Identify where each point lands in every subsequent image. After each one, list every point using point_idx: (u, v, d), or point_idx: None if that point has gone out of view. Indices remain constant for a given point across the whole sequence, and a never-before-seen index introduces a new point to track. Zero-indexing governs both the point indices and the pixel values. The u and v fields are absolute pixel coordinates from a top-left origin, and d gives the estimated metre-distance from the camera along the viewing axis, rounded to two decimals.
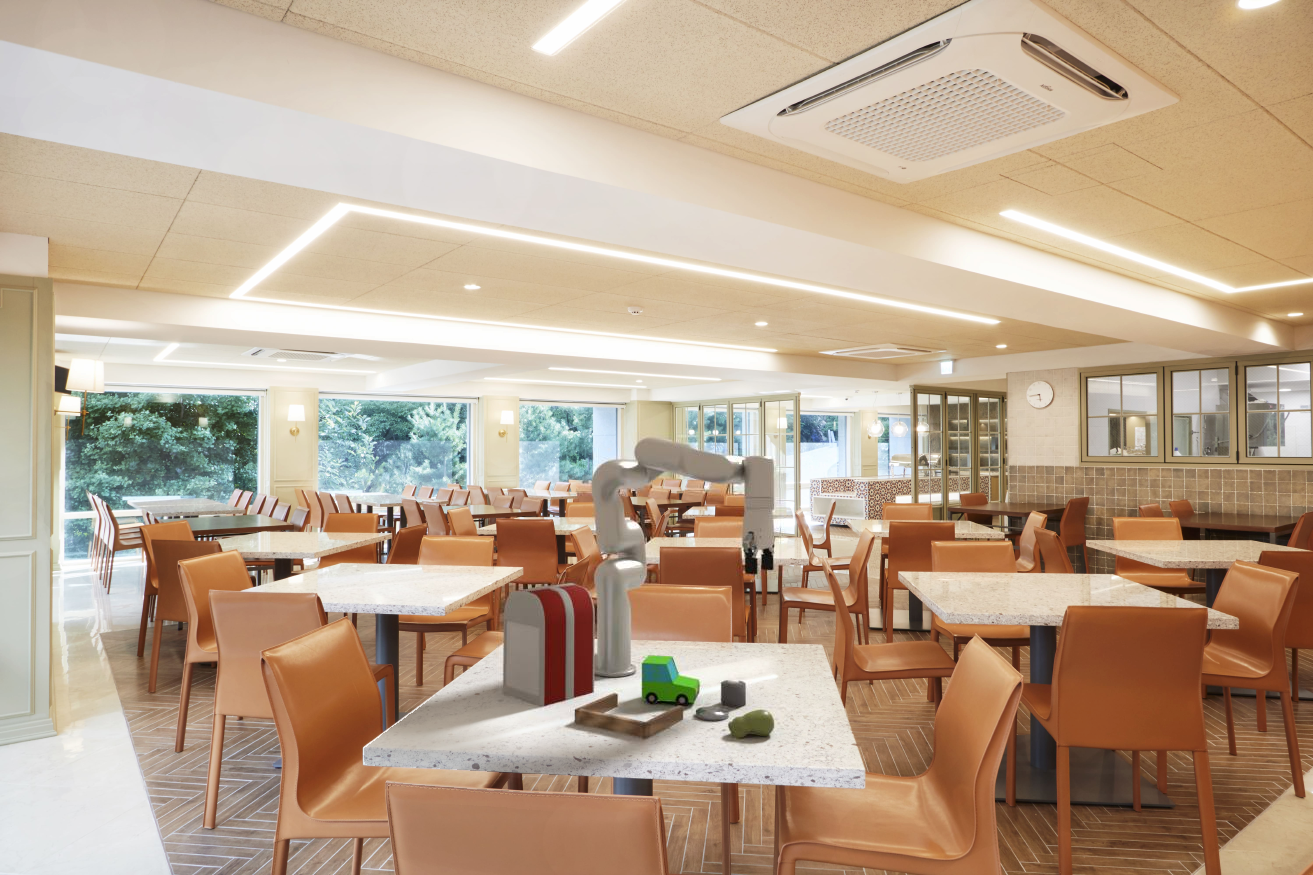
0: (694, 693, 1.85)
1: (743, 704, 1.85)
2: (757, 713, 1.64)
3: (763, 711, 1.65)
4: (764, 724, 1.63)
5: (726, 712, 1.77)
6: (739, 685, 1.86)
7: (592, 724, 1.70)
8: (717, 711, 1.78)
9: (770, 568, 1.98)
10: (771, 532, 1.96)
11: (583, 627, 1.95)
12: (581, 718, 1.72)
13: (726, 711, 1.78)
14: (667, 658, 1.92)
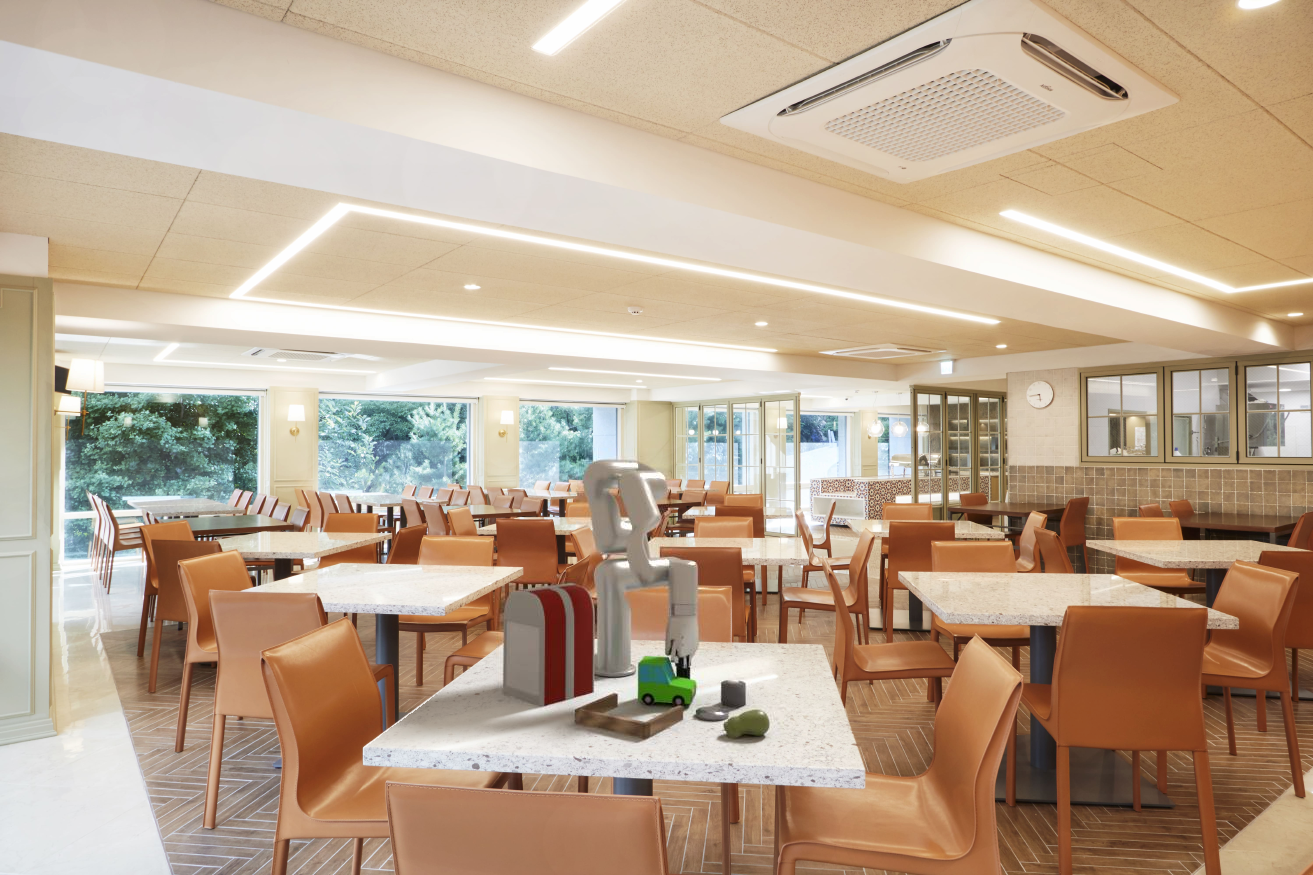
0: (691, 694, 1.84)
1: (743, 704, 1.85)
2: (752, 713, 1.64)
3: (758, 711, 1.65)
4: (760, 724, 1.63)
5: (726, 712, 1.77)
6: (739, 685, 1.86)
7: (592, 724, 1.70)
8: (717, 711, 1.78)
9: None
10: (695, 637, 1.96)
11: (583, 627, 1.95)
12: (581, 718, 1.72)
13: (726, 711, 1.78)
14: (663, 659, 1.91)
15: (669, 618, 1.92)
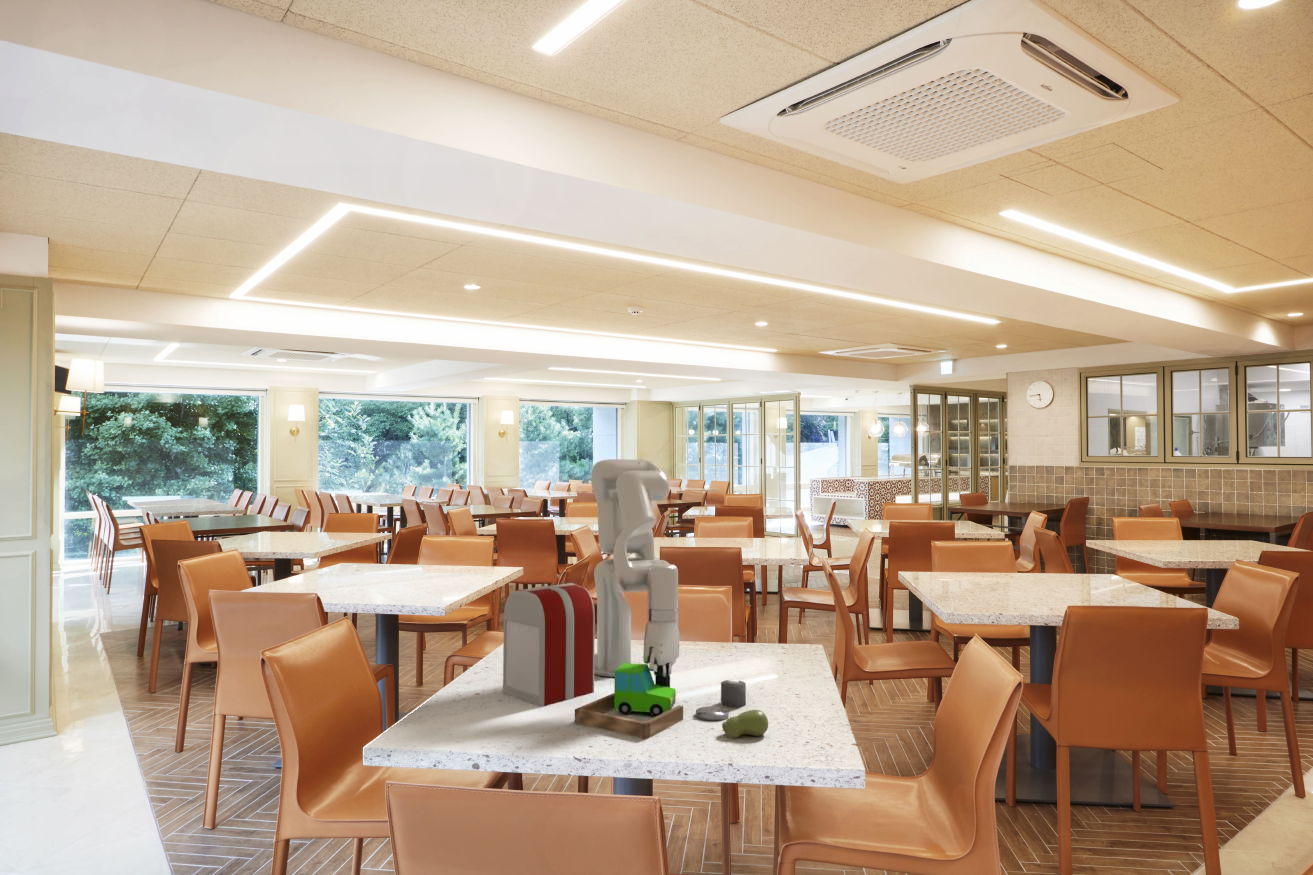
0: (669, 703, 1.77)
1: (743, 704, 1.85)
2: (750, 713, 1.64)
3: (757, 711, 1.65)
4: (758, 724, 1.63)
5: (726, 712, 1.77)
6: (739, 685, 1.86)
7: (592, 724, 1.70)
8: (717, 711, 1.78)
9: None
10: (675, 644, 1.87)
11: (583, 627, 1.95)
12: (581, 718, 1.72)
13: (726, 711, 1.78)
14: (642, 666, 1.84)
15: (648, 624, 1.84)
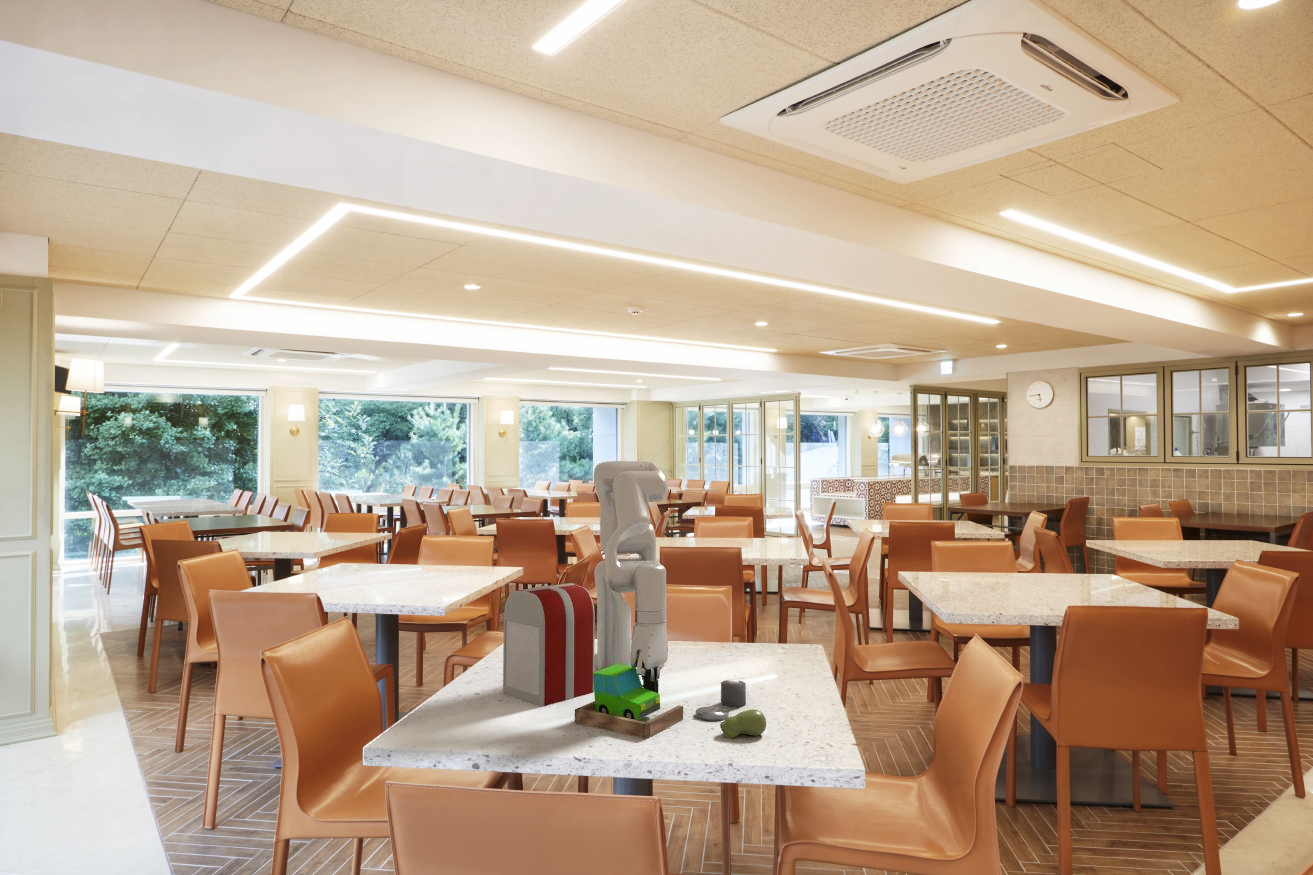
0: (639, 709, 1.70)
1: (743, 704, 1.85)
2: (749, 713, 1.64)
3: (755, 711, 1.65)
4: (756, 724, 1.63)
5: (726, 712, 1.77)
6: (739, 685, 1.86)
7: (592, 724, 1.70)
8: (717, 711, 1.78)
9: None
10: (664, 647, 1.81)
11: (583, 627, 1.95)
12: (581, 718, 1.72)
13: (726, 711, 1.78)
14: (626, 669, 1.79)
15: (635, 627, 1.78)
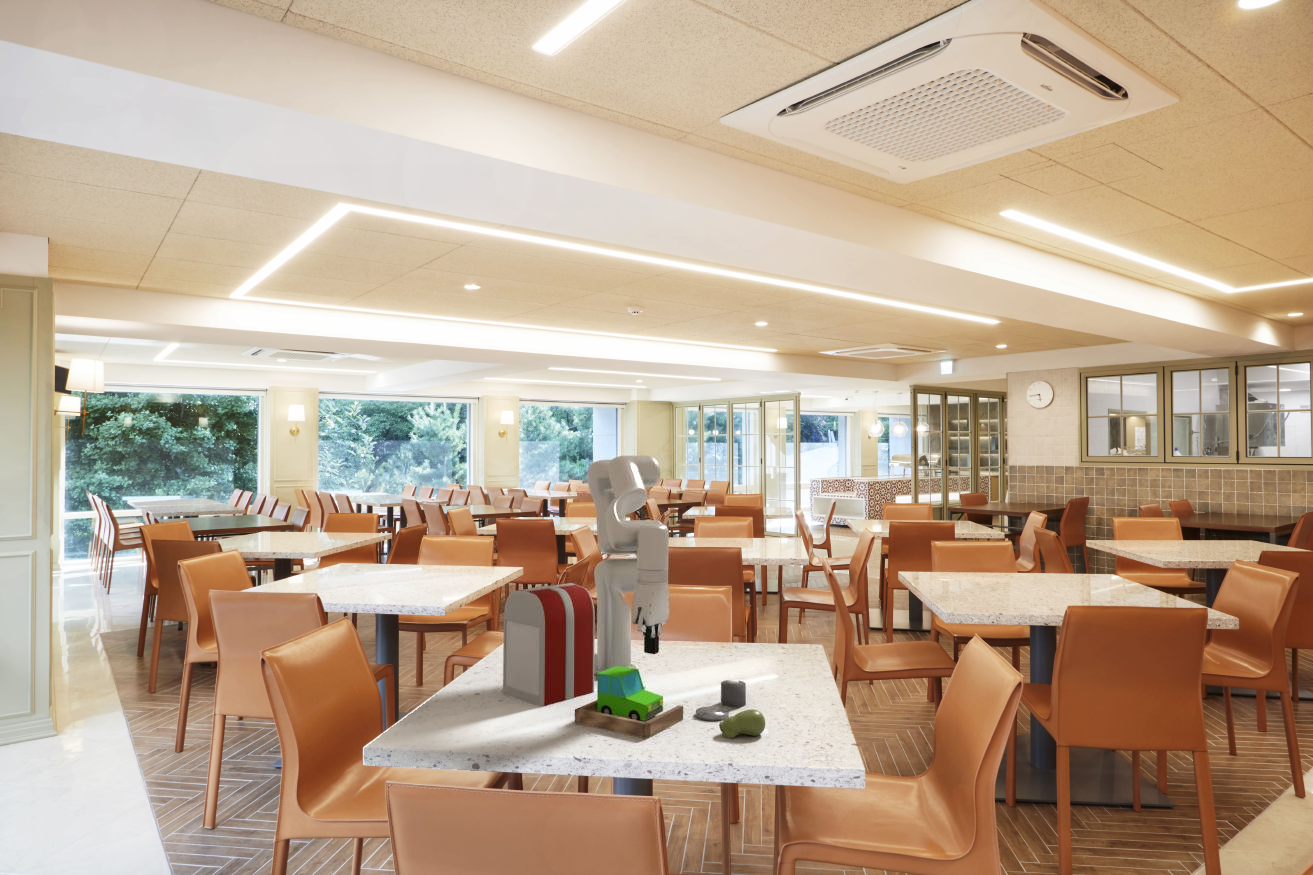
0: (646, 711, 1.71)
1: (743, 704, 1.85)
2: (748, 713, 1.64)
3: (754, 711, 1.65)
4: (756, 724, 1.63)
5: (726, 712, 1.77)
6: (739, 685, 1.86)
7: (592, 724, 1.70)
8: (717, 711, 1.78)
9: None
10: (665, 605, 1.84)
11: (583, 627, 1.95)
12: (581, 718, 1.72)
13: (726, 711, 1.78)
14: (629, 670, 1.80)
15: (637, 585, 1.81)
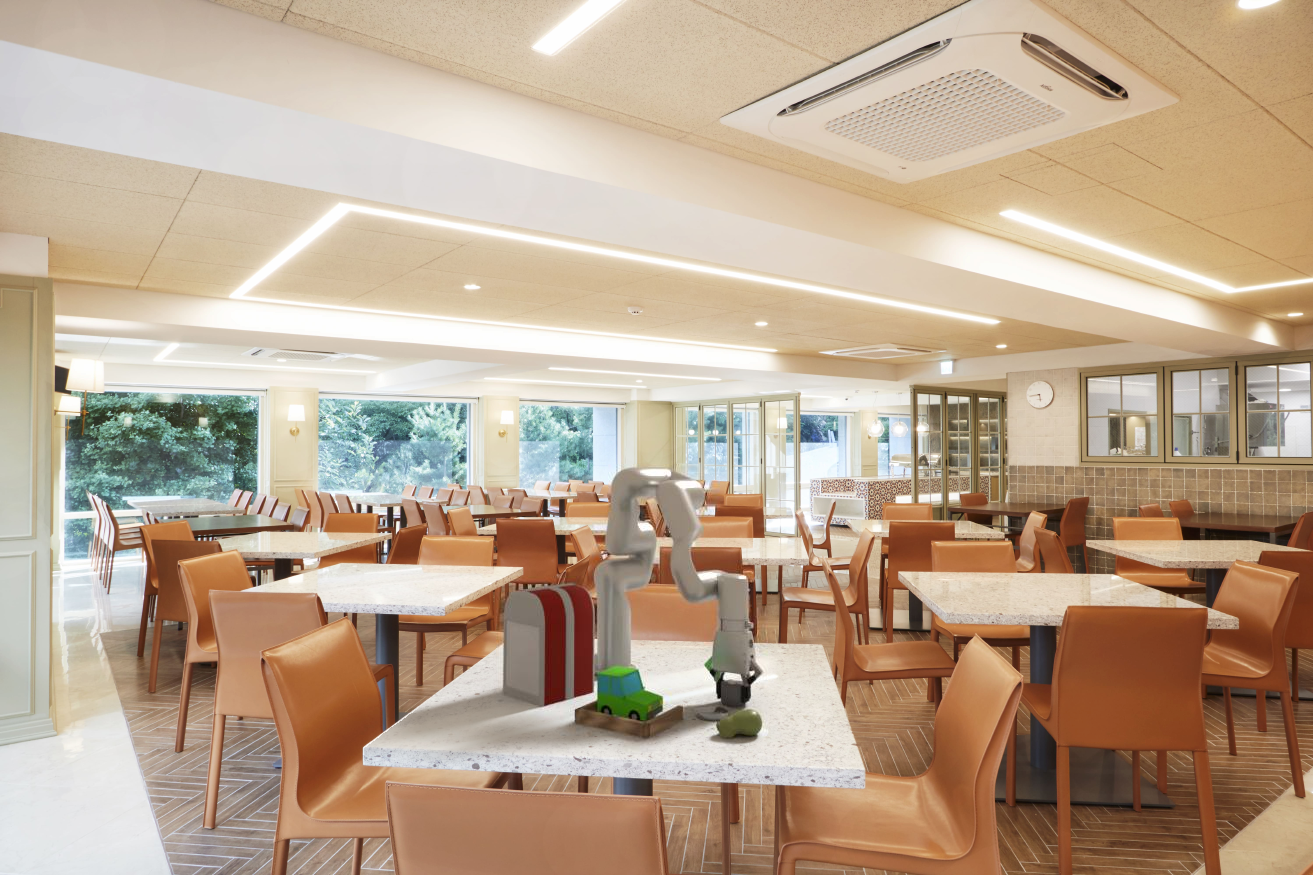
0: (646, 711, 1.71)
1: (743, 704, 1.85)
2: (745, 713, 1.64)
3: (751, 711, 1.65)
4: (752, 723, 1.63)
5: (726, 712, 1.77)
6: (739, 685, 1.86)
7: (592, 724, 1.70)
8: (717, 711, 1.78)
9: None
10: (737, 658, 1.85)
11: (583, 627, 1.95)
12: (581, 718, 1.72)
13: (726, 711, 1.78)
14: (629, 670, 1.80)
15: None
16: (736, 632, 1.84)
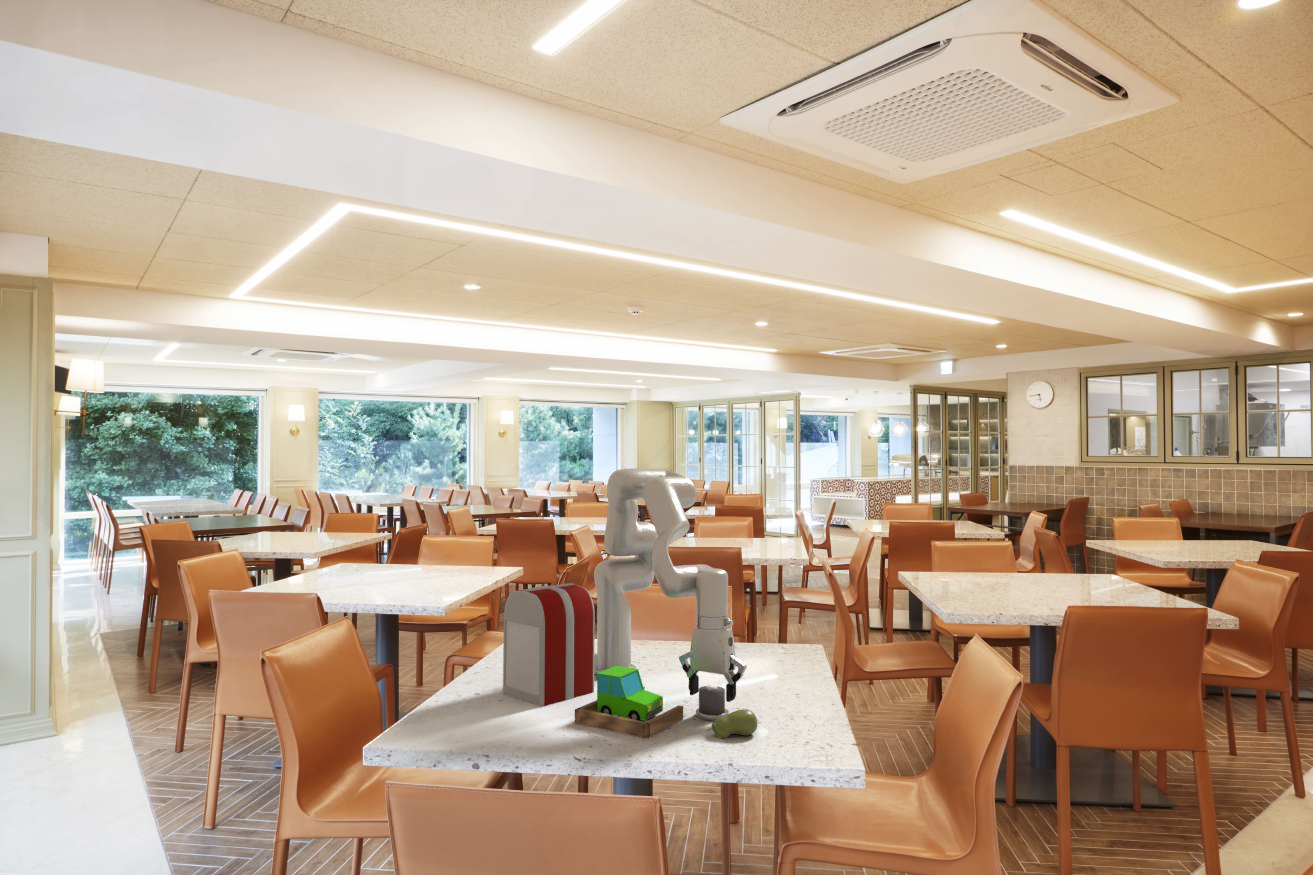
0: (646, 711, 1.71)
1: (722, 711, 1.76)
2: (740, 713, 1.65)
3: (746, 711, 1.65)
4: (748, 723, 1.63)
5: (726, 712, 1.77)
6: (718, 691, 1.77)
7: (592, 724, 1.70)
8: None
9: None
10: (716, 656, 1.76)
11: (583, 627, 1.95)
12: (581, 718, 1.72)
13: (726, 711, 1.78)
14: (629, 670, 1.80)
15: None
16: (715, 630, 1.75)
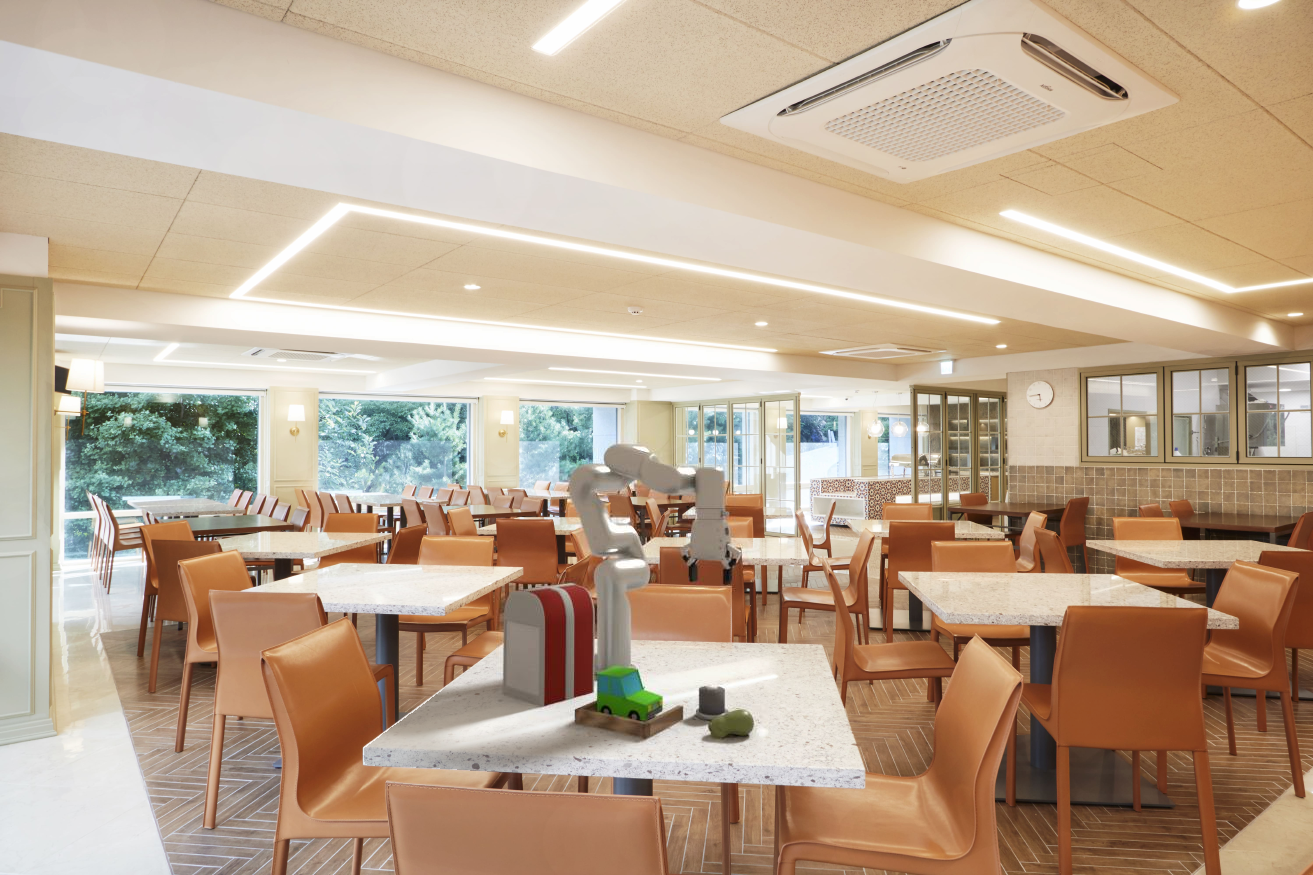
0: (646, 711, 1.71)
1: (722, 711, 1.76)
2: (737, 713, 1.65)
3: (743, 711, 1.65)
4: (745, 724, 1.63)
5: (726, 712, 1.77)
6: (718, 691, 1.77)
7: (592, 724, 1.70)
8: None
9: None
10: (713, 544, 1.93)
11: (583, 627, 1.95)
12: (581, 718, 1.72)
13: (726, 711, 1.78)
14: (629, 670, 1.80)
15: None
16: (712, 520, 1.93)
